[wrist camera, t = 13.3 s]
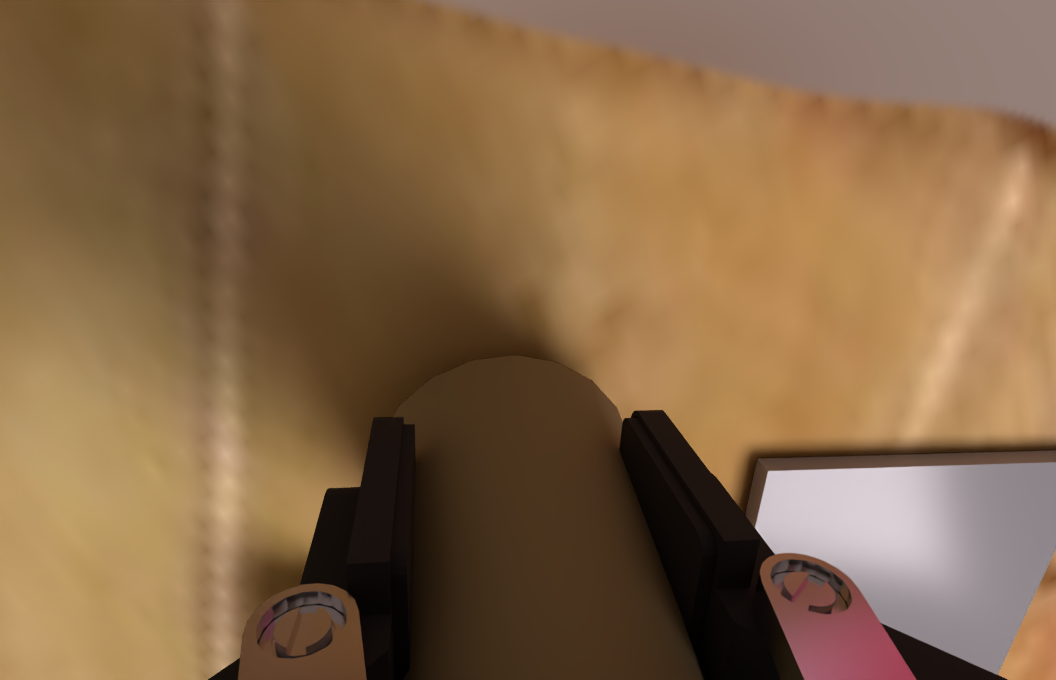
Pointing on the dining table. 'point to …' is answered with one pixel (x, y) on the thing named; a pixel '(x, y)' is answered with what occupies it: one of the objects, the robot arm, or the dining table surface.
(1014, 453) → the coaster
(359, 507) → the robot arm
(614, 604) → the tan hourglass shape
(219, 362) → the dining table surface
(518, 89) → the dining table surface
